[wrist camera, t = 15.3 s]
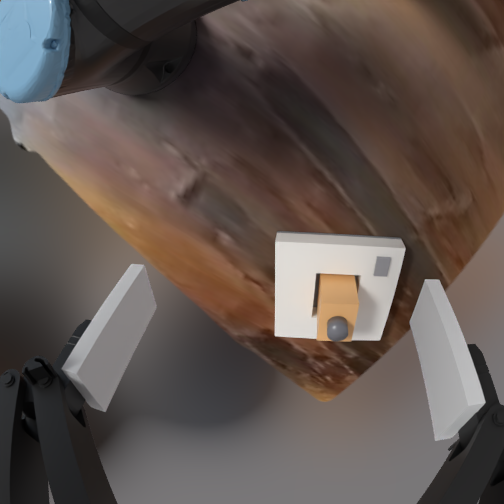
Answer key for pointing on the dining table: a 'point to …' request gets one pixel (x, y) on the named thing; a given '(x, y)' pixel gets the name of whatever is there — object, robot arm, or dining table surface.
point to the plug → (336, 307)
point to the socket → (334, 262)
